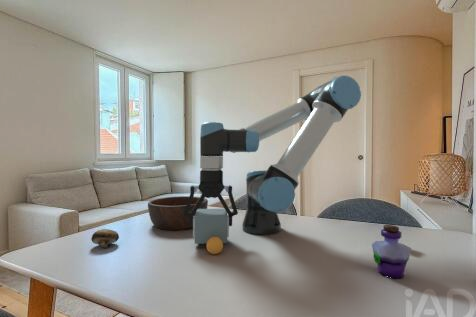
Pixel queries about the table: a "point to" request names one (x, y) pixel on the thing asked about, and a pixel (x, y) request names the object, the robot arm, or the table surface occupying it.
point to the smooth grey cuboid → (210, 225)
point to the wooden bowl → (172, 212)
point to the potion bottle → (391, 253)
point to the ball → (214, 245)
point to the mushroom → (104, 237)
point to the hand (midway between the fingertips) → (210, 236)
